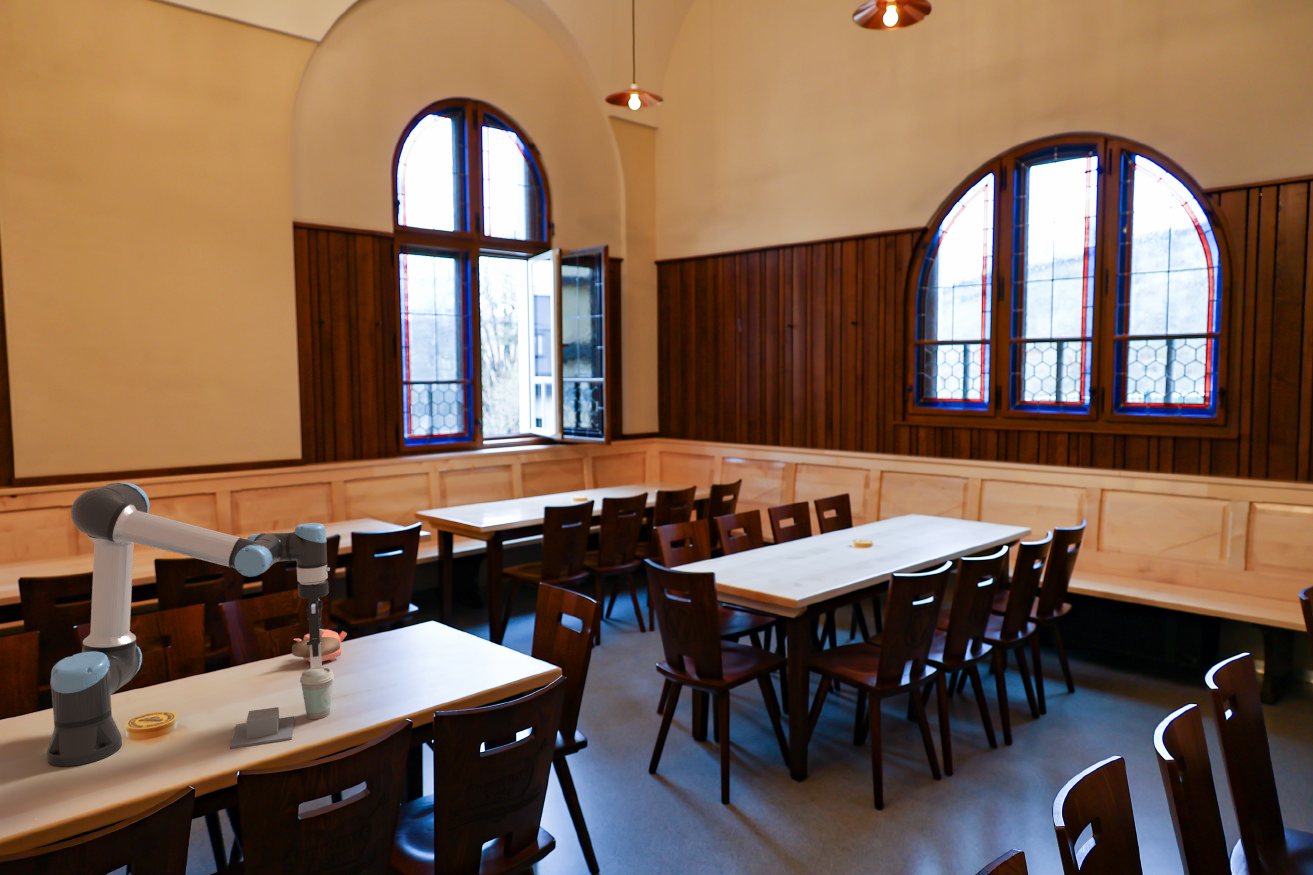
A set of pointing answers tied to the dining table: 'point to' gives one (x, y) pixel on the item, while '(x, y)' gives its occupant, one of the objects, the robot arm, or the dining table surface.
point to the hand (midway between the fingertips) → (316, 659)
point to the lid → (327, 647)
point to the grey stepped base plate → (262, 728)
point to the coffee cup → (317, 691)
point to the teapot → (328, 634)
